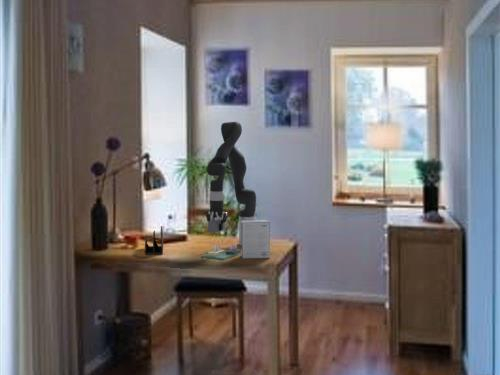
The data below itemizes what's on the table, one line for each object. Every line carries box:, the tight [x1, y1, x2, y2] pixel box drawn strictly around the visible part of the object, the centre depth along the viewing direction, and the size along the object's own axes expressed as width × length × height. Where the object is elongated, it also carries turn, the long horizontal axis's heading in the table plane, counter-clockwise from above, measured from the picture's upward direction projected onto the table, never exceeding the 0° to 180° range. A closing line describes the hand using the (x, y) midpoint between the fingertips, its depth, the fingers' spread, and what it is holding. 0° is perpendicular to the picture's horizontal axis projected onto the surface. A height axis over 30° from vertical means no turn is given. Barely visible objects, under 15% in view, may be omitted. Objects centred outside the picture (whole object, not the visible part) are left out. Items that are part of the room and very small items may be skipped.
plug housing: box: [207, 218, 226, 234], centre depth 364 cm, size 10×5×6 cm, turn 150°
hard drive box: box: [241, 219, 271, 259], centre depth 362 cm, size 16×8×20 cm, turn 92°
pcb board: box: [201, 243, 242, 261], centre depth 367 cm, size 18×14×6 cm
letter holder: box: [144, 225, 164, 256], centre depth 377 cm, size 10×20×14 cm, turn 7°
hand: (216, 230), depth 365 cm, fingers closed on plug housing, 4 cm apart
